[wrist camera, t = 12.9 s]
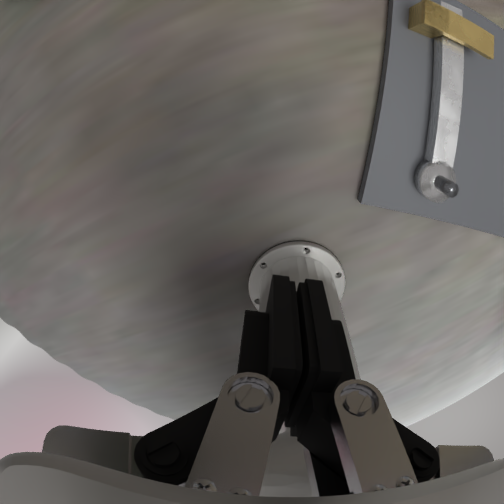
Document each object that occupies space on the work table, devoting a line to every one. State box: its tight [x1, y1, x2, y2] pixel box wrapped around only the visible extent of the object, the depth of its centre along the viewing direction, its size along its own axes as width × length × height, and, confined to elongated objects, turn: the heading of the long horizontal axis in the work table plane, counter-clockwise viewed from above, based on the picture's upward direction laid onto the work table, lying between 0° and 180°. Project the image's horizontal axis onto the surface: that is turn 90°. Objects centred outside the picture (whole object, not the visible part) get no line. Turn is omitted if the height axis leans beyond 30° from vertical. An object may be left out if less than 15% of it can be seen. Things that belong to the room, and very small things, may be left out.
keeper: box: [408, 0, 494, 60], centre depth 20 cm, size 3×10×4 cm, turn 83°
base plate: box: [358, 0, 504, 237], centre depth 26 cm, size 29×32×2 cm
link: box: [414, 1, 464, 203], centre depth 23 cm, size 24×5×5 cm, turn 178°
